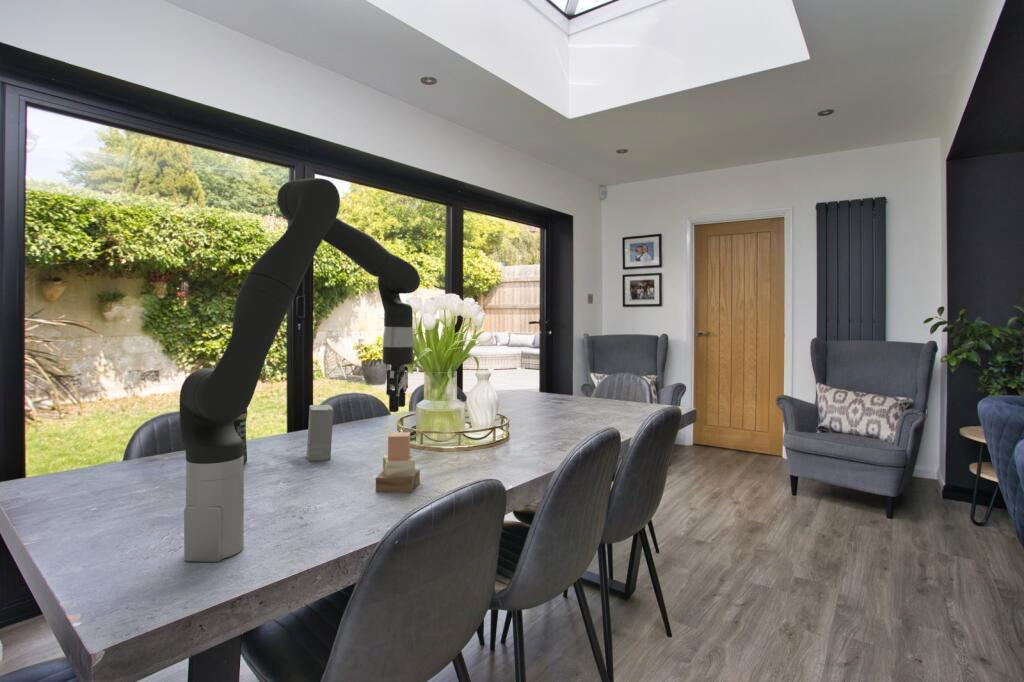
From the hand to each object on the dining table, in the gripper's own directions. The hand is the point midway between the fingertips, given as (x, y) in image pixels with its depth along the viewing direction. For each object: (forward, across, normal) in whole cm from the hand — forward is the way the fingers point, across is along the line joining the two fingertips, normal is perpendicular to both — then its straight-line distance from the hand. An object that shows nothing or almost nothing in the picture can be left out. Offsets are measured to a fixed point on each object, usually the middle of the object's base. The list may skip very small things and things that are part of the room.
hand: (397, 409), depth 139 cm
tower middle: (+16, +1, 0) cm, 17 cm away
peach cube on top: (+12, +1, 0) cm, 13 cm away
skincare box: (+20, +29, +30) cm, 46 cm away
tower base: (+21, +1, 0) cm, 21 cm away
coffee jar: (+20, +18, +52) cm, 58 cm away
